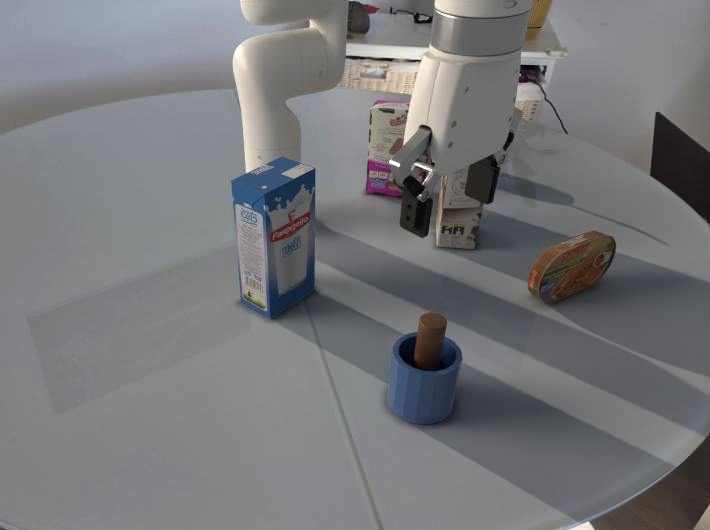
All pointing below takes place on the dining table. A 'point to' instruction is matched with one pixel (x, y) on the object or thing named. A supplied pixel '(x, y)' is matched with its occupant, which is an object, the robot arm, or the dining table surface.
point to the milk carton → (275, 234)
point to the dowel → (429, 341)
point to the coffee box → (457, 213)
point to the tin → (571, 266)
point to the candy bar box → (386, 146)
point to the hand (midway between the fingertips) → (446, 214)
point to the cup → (422, 382)
